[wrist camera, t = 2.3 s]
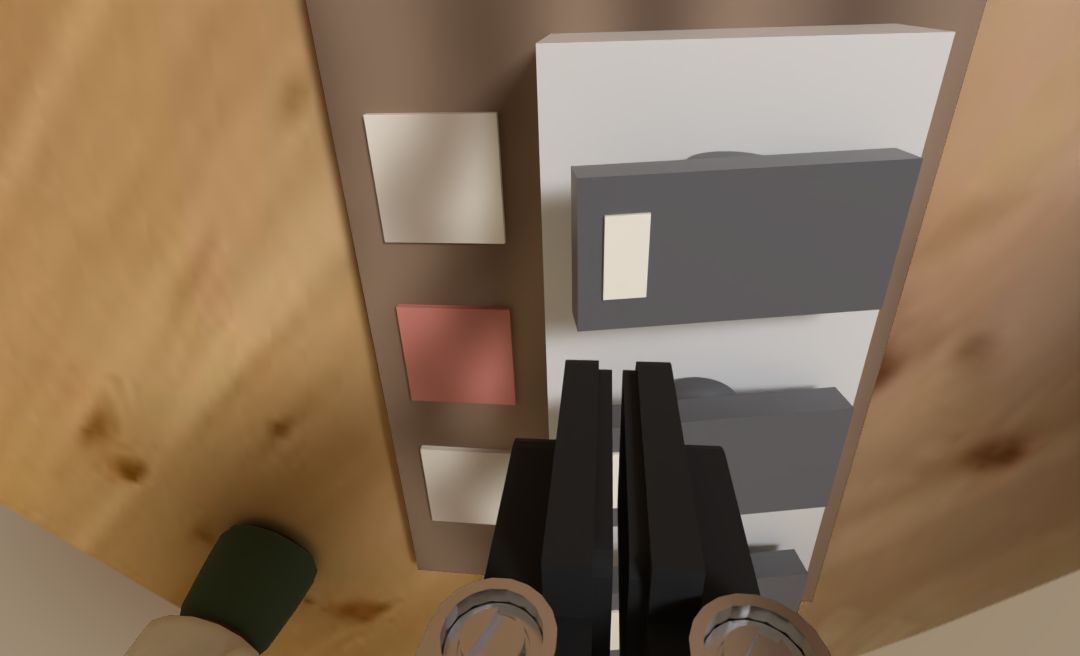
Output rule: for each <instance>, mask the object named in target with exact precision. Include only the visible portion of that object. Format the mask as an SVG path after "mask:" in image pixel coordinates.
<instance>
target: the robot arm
mask: <svg viewBox="0 0 1080 656" xmlns="http://www.w3.org/2000/svg"><path fill="white" fill-rule="evenodd" d="M617 522H618V591H619V656H831V655H830V653H829V651H828V649H827V647H826V646H825V644H824V643H823V641H822V640H821V638H820V637H819V635H818V634H817V632H816V631H815V629H814V628H813V627H812V626H811V625H810V624H808V623H807V622H806V621H805V620H804V619H803V618H802V617H801V616H800V615H799V614H798V613H796V612H795V611H793V610H791V609H790V608H788V607H786V606H784V605H783V604H781V603H779V602H778V601H775V600H772V599H768V598H765V597H762V596H761V595H760V591H759V587H758V583H757V579H756V575H755V571H754V567H753V563H752V559H751V555H750V551H749V547H748V543H747V539H746V535H745V531H744V527H743V523H742V519H741V515H740V511H739V507H738V503H737V499H736V495H735V491H734V487H733V483H732V479H731V475H730V471H729V467H728V463H727V459H726V455H725V452H724V449H723V448H722V447H721V446H708V445H685V444H684V438H683V432H682V426H681V419H680V413H679V407H678V401H677V395H676V389H675V383H674V377H673V371H672V365H671V363H670V362H641V361H636V367H635V370H623V373H622V397H621V422H620V447H619V472H618V500H617ZM612 586H613V435H612V370H608V369H599V360H566V361H565V368H564V377H563V385H562V393H561V402H560V410H559V418H558V427H557V435H556V439H531V438H516V439H515V440H514V443H513V446H512V451H511V455H510V460H509V465H508V469H507V474H506V479H505V483H504V488H503V493H502V497H501V502H500V507H499V511H498V516H497V521H496V525H495V530H494V535H493V539H492V544H491V549H490V553H489V558H488V563H487V567H486V572H485V577H484V580H479V581H474V582H472V583H470V584H468V585H466V586H464V587H462V588H460V589H458V590H456V591H455V592H454V593H453V594H451V595H450V596H449V597H448V598H447V599H446V600H445V601H444V602H442V603H441V605H440V606H439V608H438V610H437V611H436V613H435V614H434V616H433V617H432V619H431V621H430V623H429V625H428V627H427V630H426V632H425V634H424V636H423V638H422V641H421V643H420V645H419V647H418V649H417V652H416V654H415V656H610V639H611V612H612Z"/></svg>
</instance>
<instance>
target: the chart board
mask: <svg viewBox="0 0 1080 656" xmlns="http://www.w3.org/2000/svg"><path fill="white" fill-rule="evenodd" d="M986 2H987V0H306V5H307V10H308V15H309V20H310V25H311V30H312V35H313V40H314V45H315V50H316V55H317V60H318V65H319V70H320V75H321V80H322V85H323V90H324V96H325V101H326V106H327V111H328V116H329V121H330V126H331V131H332V136H333V141H334V146H335V151H336V156H337V161H338V166H339V171H340V176H341V181H342V187H343V192H344V197H345V202H346V207H347V212H348V217H349V222H350V227H351V232H352V237H353V242H354V247H355V252H356V257H357V262H358V267H359V272H360V277H361V283H362V288H363V293H364V298H365V303H366V308H367V313H368V318H369V323H370V328H371V333H372V338H373V343H374V348H375V353H376V358H377V363H378V368H379V373H380V379H381V384H382V389H383V394H384V399H385V404H386V409H387V414H388V419H389V424H390V429H391V434H392V439H393V444H394V449H395V454H396V459H397V464H398V470H399V475H400V480H401V485H402V490H403V495H404V500H405V505H406V510H407V515H408V520H409V525H410V530H411V535H412V540H413V545H414V550H415V555H416V560H417V566H418V570H430V571H442V572H454V573H466V574H479V575H485V572H486V567H487V563H488V558H489V553H490V549H491V544H492V539H493V535H494V530H495V525H496V521H497V516H498V511H499V507H500V502H501V497H502V493H503V488H504V483H505V479H506V474H507V469H508V465H509V460H510V455H511V451H512V446H513V443H514V440H515V439H516V438H531V439H549V421H548V391H547V362H546V332H545V303H544V273H543V244H542V214H541V185H540V155H539V126H538V96H537V67H536V43H537V42H539V41H540V40H542V39H543V38H545V37H546V36H548V35H550V34H559V33H592V32H626V31H660V30H693V29H727V28H761V27H794V26H828V25H861V24H895V23H896V24H903V25H910V26H917V27H925V28H932V29H939V30H946V31H954V32H955V36H954V39H953V43H952V47H951V50H950V54H949V58H948V61H947V65H946V69H945V72H944V76H943V80H942V83H941V87H940V90H939V94H938V98H937V101H936V105H935V109H934V112H933V116H932V120H931V123H930V127H929V131H928V134H927V138H926V141H925V145H924V149H923V152H922V156H921V157H922V158H923V161H922V165H921V169H920V172H919V176H918V180H917V183H916V187H915V190H914V194H913V198H912V201H911V205H910V208H909V212H908V216H907V219H906V223H905V227H904V230H903V234H902V237H901V241H900V245H899V248H898V252H897V255H896V259H895V263H894V266H893V270H892V274H891V277H890V281H889V284H888V288H887V292H886V295H885V299H884V302H883V306H882V309H880V310H879V313H878V316H877V320H876V324H875V327H874V331H873V334H872V338H871V342H870V345H869V349H868V353H867V356H866V360H865V364H864V367H863V371H862V375H861V378H860V382H859V385H858V389H857V393H856V396H855V400H854V404H853V407H854V411H853V415H852V418H851V422H850V425H849V429H848V433H847V436H846V440H845V443H844V447H843V451H842V454H841V458H840V462H839V465H838V469H837V472H836V476H835V480H834V483H833V487H832V490H831V494H830V498H829V501H828V505H827V507H825V509H824V513H823V517H822V520H821V524H820V528H819V531H818V535H817V538H816V542H815V546H814V549H813V553H812V557H811V560H810V564H809V568H808V571H807V572H808V577H807V581H806V585H805V588H804V592H803V595H802V599H801V601H810V602H812V600H813V597H814V593H815V590H816V586H817V583H818V579H819V576H820V572H821V569H822V566H823V562H824V559H825V555H826V552H827V548H828V545H829V541H830V538H831V535H832V531H833V528H834V524H835V521H836V517H837V514H838V511H839V507H840V504H841V500H842V497H843V493H844V490H845V486H846V483H847V480H848V476H849V473H850V469H851V466H852V462H853V459H854V456H855V452H856V449H857V445H858V442H859V438H860V435H861V431H862V428H863V425H864V421H865V418H866V414H867V411H868V407H869V404H870V400H871V397H872V394H873V390H874V387H875V383H876V380H877V376H878V373H879V370H880V366H881V363H882V359H883V356H884V352H885V349H886V345H887V342H888V339H889V335H890V332H891V328H892V325H893V321H894V318H895V314H896V311H897V308H898V304H899V301H900V297H901V294H902V290H903V287H904V284H905V280H906V277H907V273H908V270H909V266H910V263H911V259H912V256H913V253H914V249H915V246H916V242H917V239H918V235H919V232H920V229H921V225H922V222H923V218H924V215H925V211H926V208H927V204H928V201H929V198H930V194H931V191H932V187H933V184H934V180H935V177H936V173H937V170H938V167H939V163H940V160H941V156H942V153H943V149H944V146H945V143H946V139H947V136H948V132H949V129H950V125H951V122H952V118H953V115H954V112H955V108H956V105H957V101H958V98H959V94H960V91H961V88H962V84H963V81H964V77H965V74H966V70H967V67H968V63H969V60H970V57H971V53H972V50H973V46H974V43H975V39H976V36H977V32H978V29H979V26H980V22H981V19H982V15H983V12H984V8H985V5H986Z"/></svg>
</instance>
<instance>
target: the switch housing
mask: <svg viewBox="0 0 1080 656" xmlns="http://www.w3.org/2000/svg"><path fill="white" fill-rule="evenodd" d="M954 36H955V32H954V31H946V30H939V29H932V28H925V27H917V26H910V25H903V24H896V23H895V24H861V25H828V26H794V27H761V28H727V29H693V30H660V31H626V32H592V33H559V34H550V35H548V36H546V37H545V38H543V39H542V40H540V41H539V42H537V43H536V67H537V96H538V126H539V155H540V185H541V214H542V244H543V273H544V303H545V332H546V362H547V391H548V421H549V439H556V435H557V427H558V418H559V410H560V402H561V393H562V385H563V377H564V368H565V361H566V360H599V369H608V370H612V405H618V404H621V397H622V373H623V370H635V367H636V361H641V362H670V363H671V365H672V371H673V377H674V382H676V381H678V380H681V379H684V378H691V377H702V378H709V379H713V380H716V381H719V382H722V383H724V384H726V385H727V386H729V387H730V388H731V389H733V390H734V391H735V393H736V394H737V395H741V394H753V393H765V392H778V391H790V390H802V389H815V388H827V387H836V388H837V389H838V391H839V392H840V393H841V394H842V395H843V396H844V397H845V398H846V399H847V400H848V402H849V403H850V404H851V405H852V406H853V404H854V400H855V396H856V393H857V389H858V385H859V382H860V378H861V375H862V371H863V367H864V364H865V360H866V356H867V353H868V349H869V345H870V342H871V338H872V334H873V331H874V327H875V324H876V320H877V316H878V313H879V310H866V311H853V312H839V313H825V314H812V315H798V316H785V317H771V318H758V319H744V320H731V321H717V322H703V323H690V324H676V325H663V326H649V327H636V328H622V329H608V330H595V331H581V332H578V331H577V327H576V324H575V321H574V317H573V314H572V245H571V166H582V165H600V164H618V163H635V162H653V161H670V160H687V158H689V157H690V156H692V155H695V154H700V153H705V152H715V151H736V152H747V153H754V154H760V155H776V154H793V153H811V152H828V151H846V150H864V149H881V148H898V149H900V150H903V151H906V152H908V153H911V154H914V155H916V156H919V157H921V156H922V152H923V149H924V145H925V141H926V138H927V134H928V131H929V127H930V123H931V120H932V116H933V112H934V109H935V105H936V101H937V98H938V94H939V90H940V87H941V83H942V80H943V76H944V72H945V69H946V65H947V61H948V58H949V54H950V50H951V47H952V43H953V39H954ZM824 509H825V507H819V508H808V509H797V510H787V511H776V512H765V513H755V514H744V515H741V519H742V523H743V527H744V531H745V535H746V539H747V543H748V547H749V551H750V553H758V552H769V551H779V550H789V549H795V551H796V553H797V555H798V556H799V558H800V560H801V562H802V563H803V565H804V567H805V569H806V570H807V571H808V568H809V564H810V560H811V557H812V553H813V549H814V546H815V542H816V538H817V535H818V531H819V528H820V524H821V520H822V517H823V513H824ZM615 566H618V526H616V527H613V567H615Z"/></svg>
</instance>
